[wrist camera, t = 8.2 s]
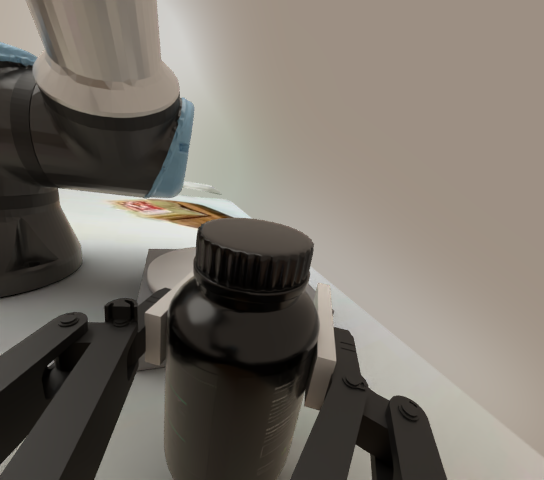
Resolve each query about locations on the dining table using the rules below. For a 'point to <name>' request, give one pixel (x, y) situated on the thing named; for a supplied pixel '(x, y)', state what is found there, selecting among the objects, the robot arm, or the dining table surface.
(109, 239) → the dining table surface
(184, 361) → the supplement bottle
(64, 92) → the robot arm
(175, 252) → the kitchen scale
